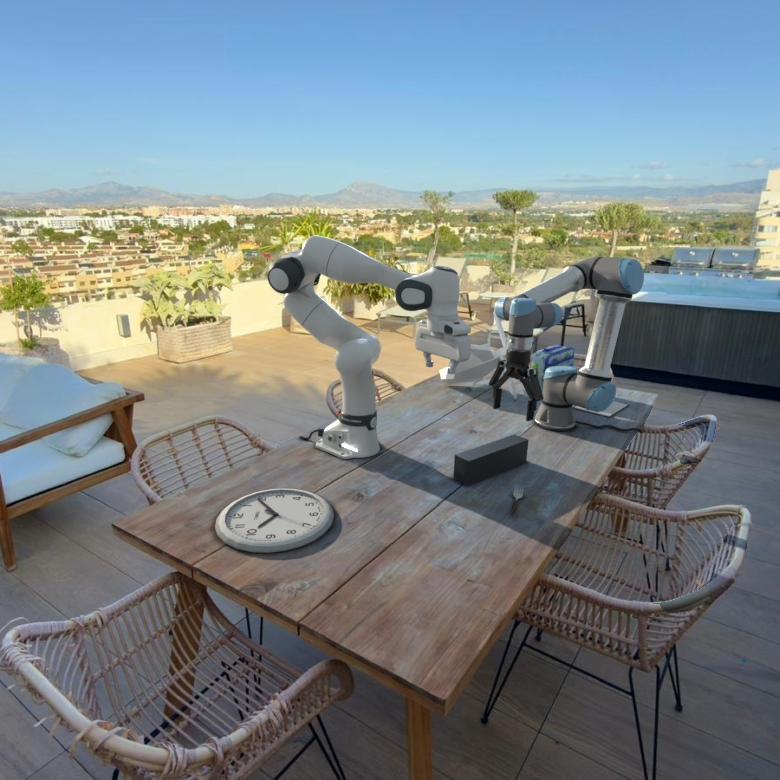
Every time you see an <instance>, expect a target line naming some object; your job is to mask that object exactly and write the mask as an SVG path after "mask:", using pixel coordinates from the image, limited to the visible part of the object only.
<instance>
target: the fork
mask: <svg viewBox="0 0 780 780" xmlns="http://www.w3.org/2000/svg"><path fill="white" fill-rule="evenodd" d="M517 485H518V486H517ZM517 485H515V487H514V491H513V494H512V496H513V498H514V499H515V500H514V502H513V504H512V511H511V517H514V515H515V512H516V510H517V508H518V500H520V499H522V498H524V497H523V496H524V488H525V487H524V486H525V485H522V486H520V487H519V485H520V484H517Z"/></svg>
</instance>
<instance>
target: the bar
mask: <svg viewBox="0 0 780 780" xmlns="http://www.w3.org/2000/svg"><path fill="white" fill-rule="evenodd" d="M528 448H529V439H528V438H525V437H523V436H520V435H518V434H511V435H508V436H506V437H502V438H500V439H497V440H493V441H490V442H487V443H485V444H482V445H479V446H476V447H474V448H470V449H467V450H463V451H462V452H459V453H456V454H454V461H453V476H452V477H453V479H454V480H455V481H457V482H459V483H461V484H463V485H465V486H470V485H472V484H475V483H478V482H480V481H483V480H486V479H487V478H490V477H492V476H495V475H497V474H500V473H502V472H504V471H507V470H510V469H512V468H515V467H518V466H520V465H523V464H525V463H527V459H528V450H529V449H528Z"/></svg>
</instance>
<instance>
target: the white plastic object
mask: <svg viewBox="0 0 780 780" xmlns="http://www.w3.org/2000/svg"><path fill="white" fill-rule="evenodd" d="M492 315H493V319H494V321H495V324H496V325H495V326H496V328H497V332H498V335H499V338H500V342H501V345H502V347H500V348H498V349H496V350H495V349H493V348H492V347H491V346H490V344H489V343H488V342H487V343H483V344H479V345H473V346H471V351H470V358H469V359H468V360H467V361H463V362H459V364H458V365H457V367H456V369H455V374H449V373H448V368H449V367H450V366H451V364H452V363H450V362H451V359H449V362H448V366H446V367H444V368H442V369H440V370H439V371H438V372H439V376H440V381H442V383H443V384H444V385H445V386H449V385H458V384H467V383H468V384H469V383H473V384H477V383H480V382H482V381H484V378H485V377H486V376H487V375H489V374H490V373H492V372H494V371H495V370H496V368H497V366H498V361H500V360H506V350H507V349H508V347H507V337H506V334H505V331H504V328H503V325H502V321H501V319H500V318H498V317H497V316H496V314H495V310H494V311H492ZM506 362H507V361H506ZM506 371H507V369H506V367H505V369H504V371H503V374H504V373H505V372H506ZM506 383H507V386H508V390H509V393H510V394H511V395H512V397H513V398H514V399H515V400H517V392H516V391H517V390H516V388H515V385H514V381H513V378H509V379H508V380H507V381H506ZM520 385H521V389H522V391H523V393H524V395H525V396H526V397H529V396H528V394H527V392H526V390H525V388H524V386H523V384H522V382H520Z"/></svg>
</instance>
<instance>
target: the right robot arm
mask: <svg viewBox="0 0 780 780" xmlns="http://www.w3.org/2000/svg"><path fill="white" fill-rule="evenodd" d="M644 282H645V271H644V268H643V265H642V263H641V262H640V261H638V260H637V259H636V258H628V257H616V256H615V257H612V256H591V257H588V258H584V259H581V260H579V261H577V262H574V263H572V264H570V265H568V266H566V267H564V269H562V272H561V273H558V274H557V275H555V276H553V277H550V278H548V279H546V280H545V281H542V282H541V283H539V284H537V285H535V286H533V287H531V288H529V289H527V290H525V291H523V292H521V293H519V294H517V295H514V296H512V297H509V296H507V297H505V296H503V297H502V296H501V297H500V298H499V299H498V300H496V302H495V304H494V311H495V314H496V316H497V317H498V318H500V320H503V321H506V322H508V329H507V330H508V332H507V338H506V340H507V347H508V349H507V350H506V360H500V361H498V366H497V368H496V369H494V371H493V374H492V376H491V378H490V379H489V382H488V386H489V387H492V391H493V392H492V398H493V405H492V409H493V410H498V409H501V406H502V396H503V395H502V393H503V388H502V386H503V385H504V384H505V383H507V380H508V379H509V378H512V379H514V380H517V381H519V382H520V383H521V382H522V384H523V386H524V388H525V390H526V392H527V394H528V396H527V397H528V398H529V400H527V407H526V416H525V421H526V422H531V421H534V424H535V425H536V426H537V427H539V428H542V429H544V430H549V431H556V432H567V431H572V430H574V429H575V428H576V424H577V425H582V426H587V427H591V428H595V429H604V428H608V429H609V428H610V429H613V430H616V431H619V432H625V433H626V432H632V431H633V432H635V431H636V432H638V433H639V434H644V432H643V431H642V429H640V428H637V427H630V428H621V427H617V426H614V425H612V424H602V425H596V424H591V423H588V422H582V421H579V420H578V421H577V420H576V418H575V417H576V416H575V413H574V407H576V406H579V407H582V408H585V409H587V410H591V411H595V412H601V411H604V410H605V409H607V407H608V406H610V404H611V403H612V401H614V400H615V398H616V394H617V386H616V384H615V383H614V382H613V381H612V380H613V375H612V373H611V372H610V369H611V365H612V361H613V358H614V357H613V356H614V352H615V350H616V349H615V348H616V344H617V340H618V336H619V332H620V328H621V324H622V319H623V316H624V312H625V308H626V304H628V303H629V302H630V301H632V299H633V296H634V295H638V293H640V291H641V289H642V288H643V285H644ZM581 290H596V294H595V295H596V297H597V298H598V300H599V301H598V305H597V309H596V314H595V318H594V321H593V322H594V323H593V327H592V331H591V334H590V340H589V344H588V349H587V352H586V356H585V361H584V364H583V366H582V367H581V368H579V369H578V368H577V367H576V366H573V367H571V366H555V367H549V368H547V369H546V370H545V375H544V378H543V379H544V381H543V391H542V390H541V386H540V383H539V379H538V370H537V368H534V369H531V367H530V364H531V363H530V362H531V361H532V351H531V350H532V349H533V339H534V330H535V329H543V328H544V329H545V328H551V327H555V326H557V325H559V324H560V323H561V321H562V319H563V309H562V307H561V305H559V304H558V303H556V302H555V301H556V300H559V299H560V298H563V297H564V296H567V294H571V293H576V292H580V291H581ZM506 361H507V362H506ZM505 367H506V369H507V371H506V372H505V373H504V369H505ZM540 401H541V402H540ZM538 402H540V405H539V406H538ZM573 406H574V407H573ZM535 412H536V413H535Z"/></svg>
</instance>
